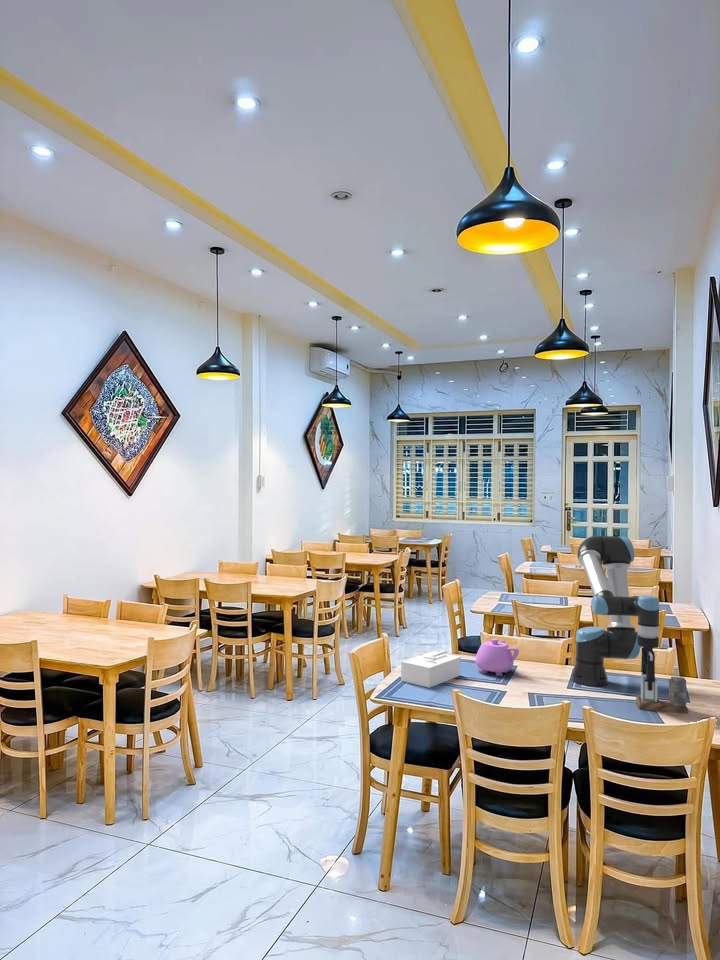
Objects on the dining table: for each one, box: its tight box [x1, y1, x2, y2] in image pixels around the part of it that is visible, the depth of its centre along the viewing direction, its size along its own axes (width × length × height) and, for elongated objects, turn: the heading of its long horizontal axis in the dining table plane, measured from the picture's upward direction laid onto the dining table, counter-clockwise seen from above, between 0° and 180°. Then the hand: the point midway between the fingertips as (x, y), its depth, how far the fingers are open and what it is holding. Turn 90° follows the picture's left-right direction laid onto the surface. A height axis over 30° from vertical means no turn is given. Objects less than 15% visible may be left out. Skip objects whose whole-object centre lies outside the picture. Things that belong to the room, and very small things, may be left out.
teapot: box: [475, 638, 520, 677], centre depth 299 cm, size 20×20×15 cm
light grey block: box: [640, 673, 658, 702], centre depth 252 cm, size 5×4×10 cm
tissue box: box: [400, 650, 461, 689], centre depth 286 cm, size 14×25×11 cm, turn 140°
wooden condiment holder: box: [635, 676, 689, 714], centre depth 251 cm, size 17×7×12 cm, turn 76°
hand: (647, 695), depth 252 cm, fingers open, 7 cm apart
